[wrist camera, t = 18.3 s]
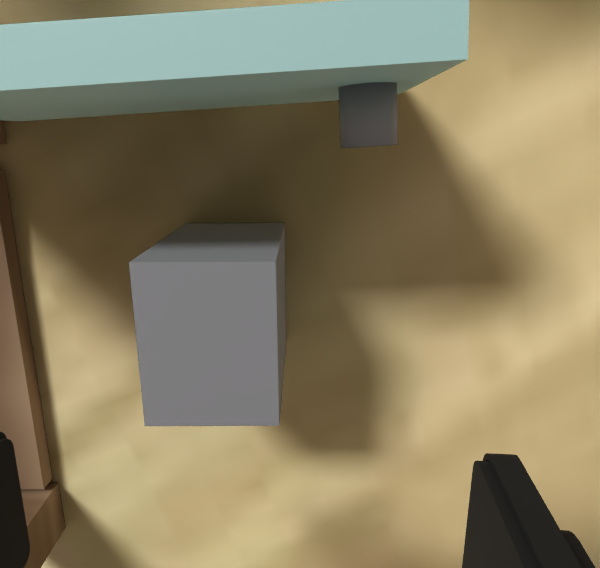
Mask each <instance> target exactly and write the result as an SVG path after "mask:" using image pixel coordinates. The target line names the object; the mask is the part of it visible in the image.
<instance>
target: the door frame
mask: <svg viewBox="0 0 600 568" xmlns="http://www.w3.org/2000/svg"><path fill="white" fill-rule="evenodd" d="M0 144H6V137H5V131H4V124H3V120H0ZM0 432H3V433H4V434H5V435H6V437H7V439H9V440H11V441H12V443H13V446H14V451H15V457H16V463H17V469H18V475H19V481H20V487H21V493H22V499H23V506H24V512H25V518H26V524H27V530H28V536H29V542H30V554H29V558H28V560H27V563H26V565H25V566H24V568H41V566H42V565H43V563H44V561H45V560H46V558H47V556H48V555H49V553H50V552H51V550H52V548H53V547H54V545H55V543H56V542H57V540H58V539H59V537H60V535H61V534H62V532H63V531H64V529H65V523H64V516H63V510H62V503H61V497H60V490H59V484H58V483H49V482H50V481H51V479H52V473H51V467H50V460H49V454H48V447H47V441H46V435H45V428H44V422H43V415H42V409H41V403H40V396H39V390H38V383H37V377H36V371H35V364H34V358H33V351H32V345H31V339H30V332H29V326H28V319H27V313H26V307H25V300H24V294H23V287H22V281H21V275H20V268H19V262H18V255H17V249H16V243H15V236H14V230H13V223H12V217H11V211H10V204H9V198H8V191H7V185H6V179H5V172H4V170H0Z"/></svg>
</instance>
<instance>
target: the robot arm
mask: <svg viewBox="0 0 600 568" xmlns="http://www.w3.org/2000/svg"><path fill="white" fill-rule="evenodd" d="M29 554H30V542H29V536H28V530H27V524H26V518H25V512H24V506H23V499H22V493H21V487H20V481H19V475H18V469H17V463H16V457H15V451H14V446H13V443H12V441H11V440H9V439H7V437H6V435H5V434H4V433H3V432H0V568H24V566H25V565H26V563H27V560H28V558H29ZM462 568H595V566H594V565H593V563H592V561H591V560H590V558H589V556H588V555H587V553H586V551H585V550H584V548H583V546H582V545H581V543H580V541H579V540H578V539H577V537H576V536H575V535H574V534H573V533H572V532H570V531H565V530H560V529H559V527H558V525H557V524H556V522H555V520H554V518H553V517H552V515H551V513H550V511H549V510H548V508H547V506H546V504H545V503H544V501H543V499H542V497H541V496H540V494H539V492H538V490H537V489H536V487H535V485H534V483H533V482H532V480H531V478H530V476H529V475H528V473H527V471H526V469H525V468H524V466H523V464H522V462H521V461H520V459H519V458H518V456H517V455H509V454H487V453H486V454H485V455H484V458H483V461H475V462H474V465H473V473H472V482H471V491H470V500H469V509H468V518H467V528H466V537H465V546H464V555H463V564H462Z"/></svg>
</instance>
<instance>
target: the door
mask: <svg viewBox="0 0 600 568" xmlns="http://www.w3.org/2000/svg"><path fill="white" fill-rule="evenodd" d="M468 32H469V0H345V1H331V2H317V3H303V4H288V5H274V6H260V7H246V8H231V9H217V10H203V11H189V12H174V13H160V14H146V15H131V16H117V17H103V18H89V19H74V20H60V21H46V22H32V23H17V24H3V25H0V120H3V121H17V122H18V121H33V120H49V119H64V118H79V117H94V116H109V115H124V114H140V113H155V112H170V111H185V110H200V109H216V108H231V107H246V106H261V105H276V104H292V103H307V102H322V101H337V100H339V116H340V142H341V148H356V147H372V146H387V145H398V110H397V95H399V94H401V93H402V92H404V91H406V90H408V89H410V88H412V87H414V86H416V85H418V84H420V83H422V82H424V81H426V80H428V79H430V78H432V77H434V76H436V75H438V74H440V73H442V72H444V71H446V70H448V69H450V68H452V67H454V66H456V65H458V64H459V63H461V62H463V61H465V60H467V59H468Z"/></svg>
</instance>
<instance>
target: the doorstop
mask: <svg viewBox="0 0 600 568" xmlns="http://www.w3.org/2000/svg"><path fill="white" fill-rule="evenodd" d="M129 270H130V280H131V290H132V300H133V310H134V321H135V331H136V341H137V351H138V361H139V371H140V381H141V392H142V402H143V412H144V422H145V426H279V421H280V409H281V397H282V385H283V373H284V362H285V350H286V280H285V223H186V224H184V225H183V226H181V227H180V228H178V229H177V230H175V231H174V232H172V233H171V234H170V235H168V236H167V237H165V238H164V239H162V240H161V241H159V242H158V243H156V244H155V245H153V246H152V247H151V248H149V249H148V250H146V251H145V252H143V253H142V254H140V255H139V256H137V257H136V258H135V259H133V260H132V261H130V262H129Z"/></svg>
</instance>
